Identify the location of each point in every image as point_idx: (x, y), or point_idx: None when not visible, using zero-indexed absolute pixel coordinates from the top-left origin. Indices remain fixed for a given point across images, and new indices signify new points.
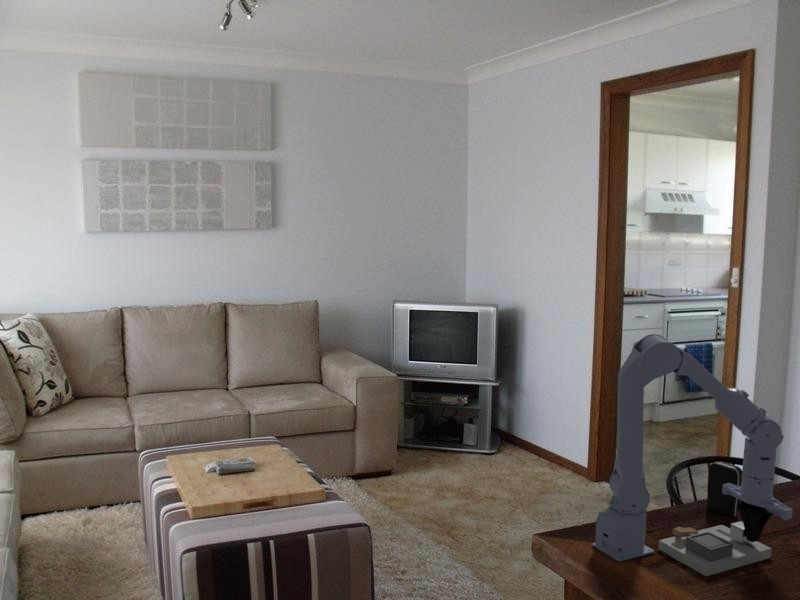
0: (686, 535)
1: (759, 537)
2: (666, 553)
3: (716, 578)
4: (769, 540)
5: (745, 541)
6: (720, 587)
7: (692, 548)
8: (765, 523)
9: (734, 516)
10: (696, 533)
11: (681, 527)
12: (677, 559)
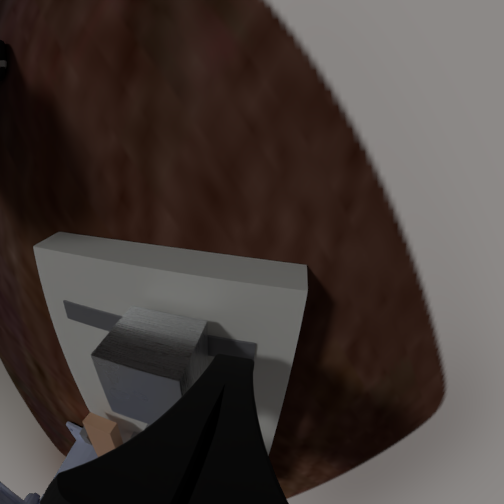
0: None
1: (252, 373)
2: None
3: (280, 465)
4: (177, 79)
5: (205, 366)
6: (309, 476)
7: None
8: (267, 458)
9: (5, 67)
10: (114, 433)
11: (85, 436)
12: None
